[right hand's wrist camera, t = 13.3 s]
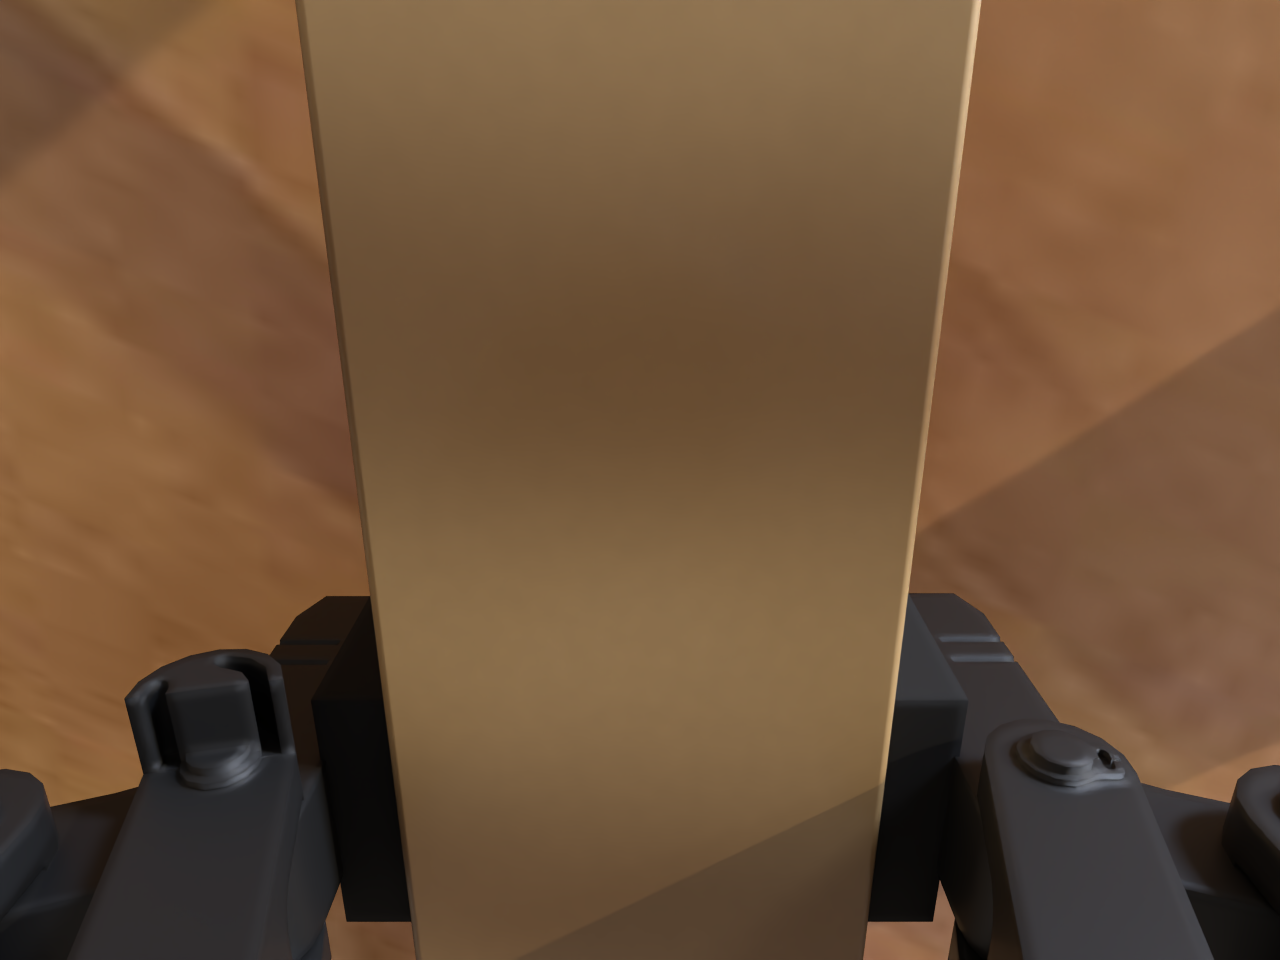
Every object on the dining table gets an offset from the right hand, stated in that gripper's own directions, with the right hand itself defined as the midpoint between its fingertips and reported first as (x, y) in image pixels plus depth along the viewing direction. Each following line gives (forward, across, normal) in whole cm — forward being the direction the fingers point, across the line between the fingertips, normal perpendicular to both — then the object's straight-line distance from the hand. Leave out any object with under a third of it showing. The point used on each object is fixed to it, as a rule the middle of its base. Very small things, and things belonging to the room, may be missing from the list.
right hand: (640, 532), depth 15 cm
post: (+1, 0, -28) cm, 28 cm away
